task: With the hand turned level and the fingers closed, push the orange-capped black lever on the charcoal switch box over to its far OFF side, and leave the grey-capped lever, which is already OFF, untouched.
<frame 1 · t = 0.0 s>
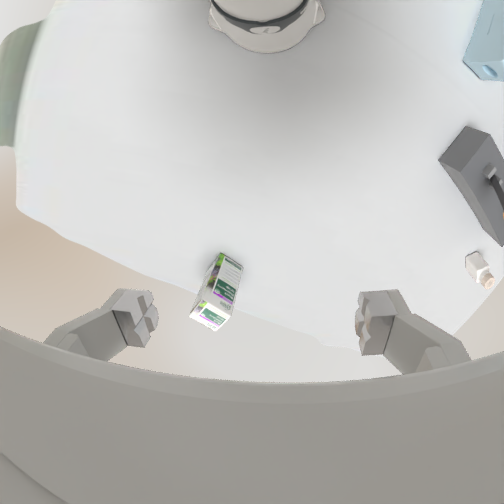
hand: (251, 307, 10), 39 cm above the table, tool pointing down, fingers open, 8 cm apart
orange lever: (501, 196, 28), point 14 cm above the table, hinge at -25.0°
switch box: (477, 181, 40), on the table
syrup box: (225, 268, 58), on the table
light blue rounded box: (482, 34, 23), on the table
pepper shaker: (470, 259, 49), on the table
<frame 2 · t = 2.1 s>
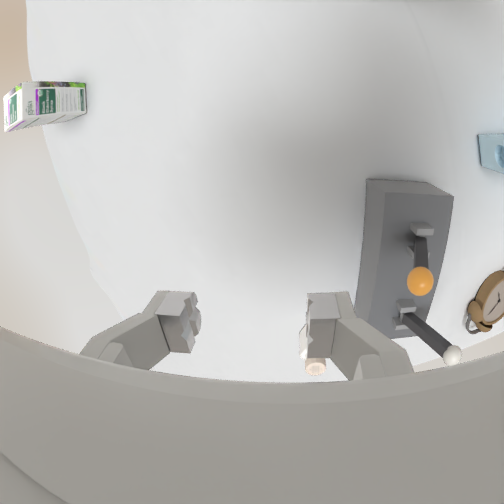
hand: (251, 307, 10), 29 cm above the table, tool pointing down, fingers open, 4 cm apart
orange lever: (420, 259, 24), point 14 cm above the table, hinge at -25.0°
alarm clock: (485, 298, 40), on the table
grey lever: (429, 335, 28), point 14 cm above the table, hinge at 25.0°
switch box: (391, 250, 39), on the table
syrup box: (75, 102, 34), on the table
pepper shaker: (312, 328, 47), on the table
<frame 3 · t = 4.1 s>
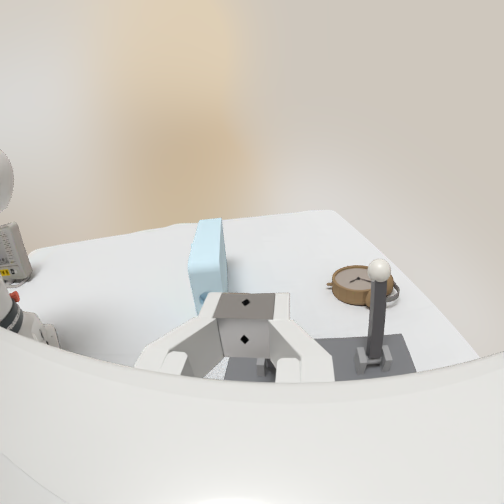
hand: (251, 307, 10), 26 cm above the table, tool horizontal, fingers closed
orange lever: (273, 347, 24), point 14 cm above the table, hinge at -25.0°
alarm clock: (364, 295, 54), on the table
network device: (11, 282, 67), on the table
grey lever: (377, 313, 27), point 14 cm above the table, hinge at 25.0°
switch box: (317, 405, 31), on the table
light blue rounded box: (216, 294, 58), on the table
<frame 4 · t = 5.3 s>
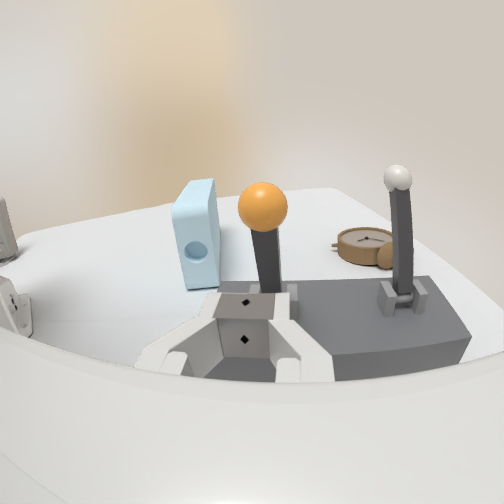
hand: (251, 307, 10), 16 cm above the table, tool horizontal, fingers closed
orange lever: (269, 261, 18), point 14 cm above the table, hinge at -25.0°
alarm clock: (374, 257, 47), on the table
grey lever: (402, 233, 20), point 14 cm above the table, hinge at 25.0°
switch box: (330, 372, 25), on the table
light blue rounded box: (207, 259, 52), on the table
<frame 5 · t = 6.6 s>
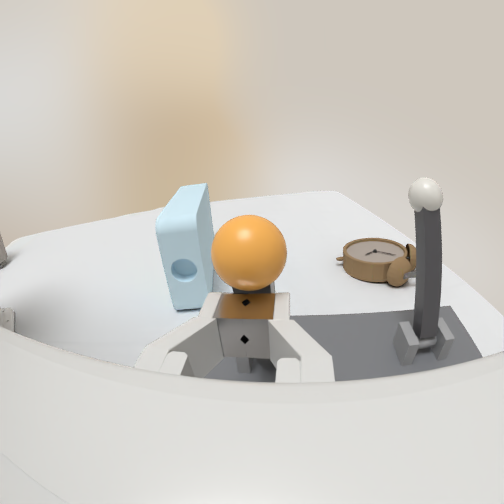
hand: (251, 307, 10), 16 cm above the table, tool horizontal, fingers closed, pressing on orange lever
orange lever: (260, 313, 13), point 14 cm above the table, hinge at -25.0°, touching gripper
alarm clock: (382, 272, 42), on the table
grey lever: (428, 264, 16), point 14 cm above the table, hinge at 25.0°
switch box: (333, 416, 20), on the table
light blue rounded box: (199, 273, 47), on the table
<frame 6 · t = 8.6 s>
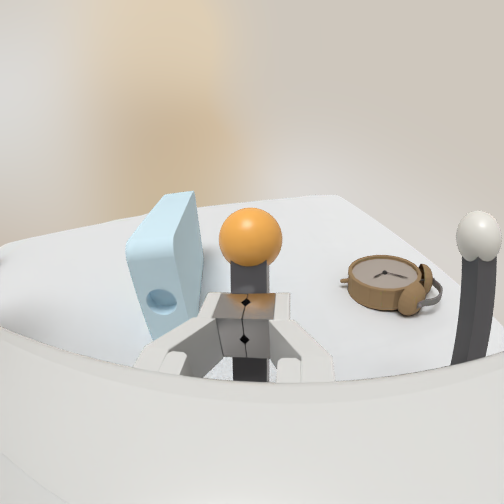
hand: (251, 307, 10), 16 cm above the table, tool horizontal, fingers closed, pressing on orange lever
orange lever: (251, 347, 11), point 14 cm above the table, hinge at 27.1°, touching gripper
alarm clock: (392, 295, 36), on the table
grey lever: (473, 332, 10), point 14 cm above the table, hinge at 25.0°
light blue rounded box: (184, 295, 41), on the table
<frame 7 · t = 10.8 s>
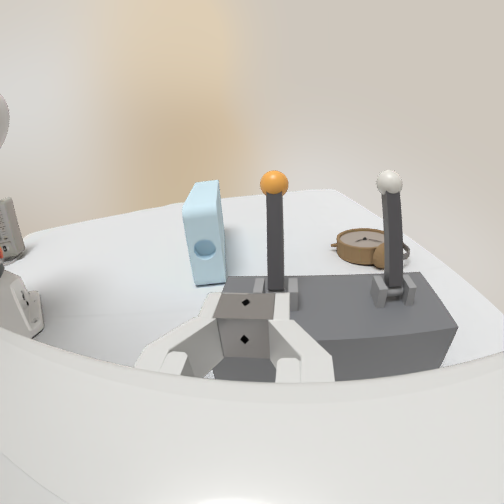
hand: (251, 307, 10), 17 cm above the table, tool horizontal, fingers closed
orange lever: (275, 233, 25), point 14 cm above the table, hinge at 27.4°
alarm clock: (371, 257, 49), on the table
network device: (3, 261, 63), on the table
grey lever: (393, 232, 23), point 14 cm above the table, hinge at 25.0°
switch box: (328, 361, 27), on the table
light blue rounded box: (212, 257, 54), on the table
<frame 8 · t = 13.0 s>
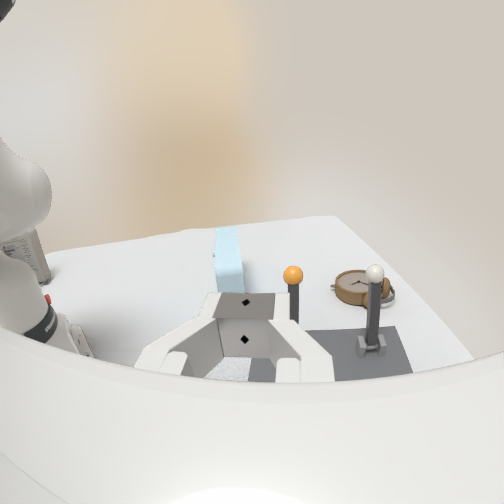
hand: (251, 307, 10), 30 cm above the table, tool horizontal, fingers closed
orange lever: (293, 310, 35), point 14 cm above the table, hinge at 27.4°
alarm clock: (363, 296, 60), on the table
network device: (28, 285, 74), on the table
grey lever: (373, 308, 34), point 14 cm above the table, hinge at 25.0°
switch box: (325, 386, 38), on the table
light blue rounded box: (233, 295, 65), on the table
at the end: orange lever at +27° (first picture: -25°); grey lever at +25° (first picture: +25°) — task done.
